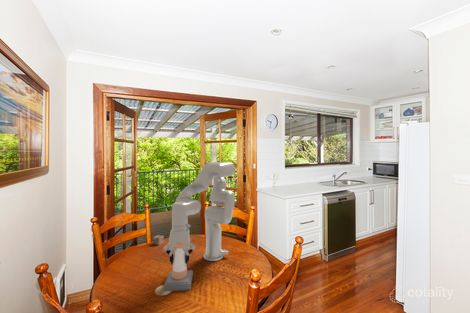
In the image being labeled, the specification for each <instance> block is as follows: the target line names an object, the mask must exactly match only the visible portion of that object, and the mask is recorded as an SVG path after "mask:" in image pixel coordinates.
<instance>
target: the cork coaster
mask: <svg viewBox="0 0 470 313" xmlns="http://www.w3.org/2000/svg"><path fill="white" fill-rule="evenodd" d="M171 292H172V291H164V284H162V285H160V286H158V287H156V289H154V293H155V295H157V296H167V295H169V294H170V293H171Z"/></svg>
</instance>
